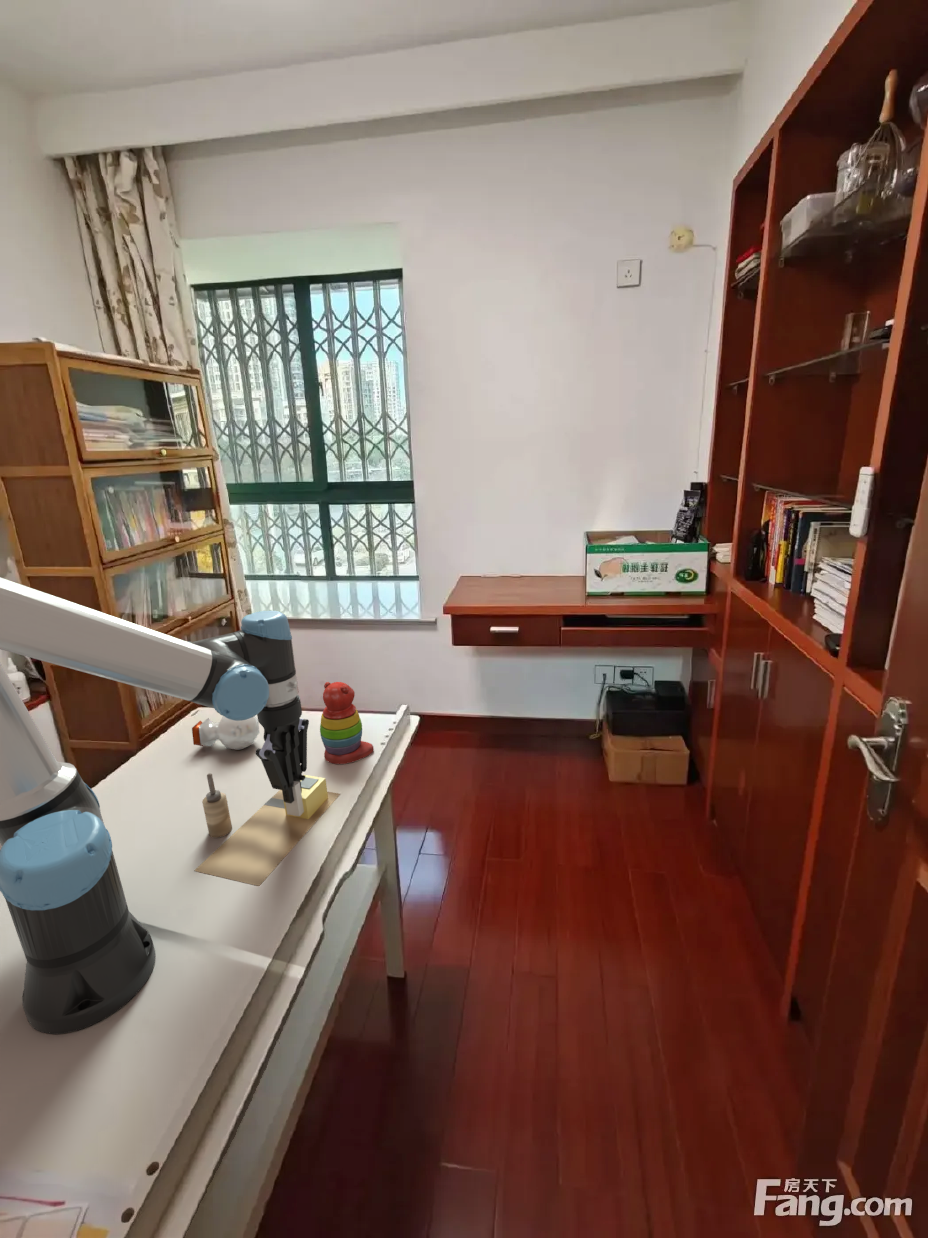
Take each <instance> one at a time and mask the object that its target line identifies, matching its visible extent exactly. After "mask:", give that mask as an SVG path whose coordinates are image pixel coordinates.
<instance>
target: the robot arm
mask: <svg viewBox="0 0 928 1238" xmlns="http://www.w3.org/2000/svg"><path fill="white" fill-rule="evenodd" d="M240 625H241V626H240V630H237V631H234V632H231V633H225V634H222V635H216V636H213V637H212V636H211V637H207V638H203V639H199V640H196V641H186V640H184V639H180V638H178V637H174V636H173V635H169V634H166V633H163V632H160V631H157V630H154V629H151V628H148V627H146V626H143V625H140V624H137V623H133V622H131V621H128V620H125V619H123V618H120V617H116V616H114V615H110V614H107V613H105V612H103V611H99V610H96V609H94V608H90V607H87V606H85V605H82V604H78V603H76V602H73V601H70V600H67V599H64V598H62V597H59V596H57V595H56V596H55V595H52V594H50V593H47V592H44V591H41V590H38V589H35V588H32V587H29V586H27V585H24V584H21V583H18V582H14V581H12V580H9V579H6V578H3V577H1V576H0V650H2V651H5V652H9V653H13V654H16V655H21V656H24V657H26V658H27V657H28V658H31V659H35V660H38V661H42V662H45V663H49V664H53V665H57V666H60V667H64V668H68V669H71V670H75V671H79V672H82V673H86V674H89V675H93V676H97V677H100V678H104V679H108V680H110V681H111V680H112V681H115V682H119V683H122V684H126V685H129V686H133V687H137V688H140V689H144V690H148V691H150V692H151V691H152V692H154V693H155V692H156V693H157V694H163V695H166V696H170V697H173V698H177V699H181V700H185V701H188V702H192V703H194V704H197V705H200V706H201V705H202V706H205V707H207V708H212V709H213V710H214V711H215V712H216V713H218V714H220V715H221V716H222V717H223V716H224V717H226V718H228V719H230V720H235V721H242V720H247V719H250V718H252V717H254V716H256V718H257V719H258V724H259V725H261V727H262V728H263V740H264V743H263V744H262V747H261V748H256V750H255V756H256V757H258V758H259V759H260V760H261V764H262V765H263V768H264V771H265V772H266V776H267V778H268V780H269V783H270V785H271V787H272V789H274V790H278V791H279V790H282V793H283V799H284V802H285V803H286V809H287V814H289V815H294V816H301V815H302V813H303V812H304V808H303V801H302V795H301V793H302V788H301V781H300V780H302V781H303V780H304V779H305V775H306V774H303V772H304V773H305V772H306V771H307V768H308V754H307V753H308V728H309V725H310V724H309V722H310V720H309V719H307V718H301V717H302V715H303V711H302V710H303V709H302V701H301V698H300V695H299V693H300V690H299V685H298V679H297V678H298V677H297V670H296V664H295V657H294V656H295V655H294V649H293V641H292V639H293V636H292V634H291V633H292V632H291V627H290V624H289V619H288V617H287V615H286V614H284V612H282V611H278V610H261V611H255V612H252V613H250V614H246V615H245V616H244V617H243V618H242V619H241V624H240ZM0 846H1V848H0V893H1V894H2V896H3V897H4V900H5V902H6V906H7V909H8V912H9V914H10V916H11V919H12V923H13V925H14V928H15V930H16V931H15V932H16V935H17V937H18V940H19V942H20V945H21V946H20V947H21V949H22V952H23V953H24V958H25V960H26V964H25V972H24V973H25V974H24V983H23V985H24V986H23V991H22V997H21V1001H22V1007H23V1011H24V1014H25V1016H26V1019H27V1020H28V1021H27V1022H28V1023H29V1025H30V1026H31V1027H32V1028H33V1029H34V1030H35V1031H36V1030H37V1031H39V1032H41V1033H45V1034H50V1035H51V1034H52V1035H54V1034H55V1035H56V1034H58V1035H60V1034H66V1033H67V1034H68V1033H73V1032H76V1031H79V1030H83V1029H85V1028H88V1027H90V1026H92V1025H95V1024H97V1023H99V1022H101V1021H103V1020H104V1019H106V1018H108V1017H110V1016H111V1015H112V1014H114V1013H116V1012H117V1011H118V1010H120V1009H122V1008H123V1007H124V1006H125V1005H126V1004H127V1003H128V1002H129V1001H131V1000H132V999H133V997H135V996H136V995H137V994H138V993H139V991H140V990H141V989H142V988H143V987H144V985H145V984H146V982H147V981H148V980H149V978H150V976H151V974H152V973H153V969H154V967H155V963H156V950H155V946H154V943H153V939H152V936H151V935H150V933H149V932H148V930H147V929H146V928H145V927H144V926H143V924H141V922H140V921H139V920H138V919H137V918H136V917H135V916H134V915H133V913H131V912H130V910H129V907H128V903H127V900H126V896H125V891H124V888H123V885H122V880H121V878H120V873H119V870H118V869H119V868H118V867H117V863H116V859H115V854H114V852H113V842H112V836H111V835H110V832H109V830H108V828H106V826H105V822H104V820H103V816H102V812H101V806H100V801H99V799H98V797H97V795H96V793H95V791H94V790H93V789H92V788H91V787H89V785H88V784H87V783H85V782H84V780H83V779H82V777H81V775H80V773H79V772H78V770H77V768H76V767H75V765H74V764H72V763H70V762H65V761H64V762H63V761H58V760H57V759H56V756H55V755H54V754H53V751H52V749H51V748H50V747H49V744H48V743H47V741H46V739H45V738H44V736H43V734H42V732H41V731H40V729H39V728H38V726H37V724H36V722H35V721H34V719H33V717H32V715H31V714H30V712H29V709H28V708H27V707H26V705H25V702H24V701H23V700H22V698H21V696H20V694H19V692H18V691H17V690H16V688H15V686H14V684H13V682H12V680H11V679H10V677H9V675H8V673H7V672H6V670H5V668H4V667H3V665H2V663H1V662H0Z"/></svg>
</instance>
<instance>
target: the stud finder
mask: <svg viewBox="0 0 928 1238" xmlns="http://www.w3.org/2000/svg"><path fill="white" fill-rule="evenodd" d="M304 775H305V779H304V780H303V781H302V780H300V781H301V788H302V793H301V795H302V801H303V808H304V812H303V813H302V815H301V816H294V815H289V814H287V809H286V803H285V802H284V806H285V812H286V815H289V816H294V817H299V818H304V819H309V818H310V817H311V816H312V815H313V814H314V813H315V812H316V811H317V809H318V808H319V807H320V806H321V805H322V804H323V803H324V802H325V801H326V800H327V799H328V793H327V792H328V788H327V787H328V786H327V779H326V777H320V776H316V775H315V776H314V775H307V774H304ZM283 800H284V799H283Z"/></svg>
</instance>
